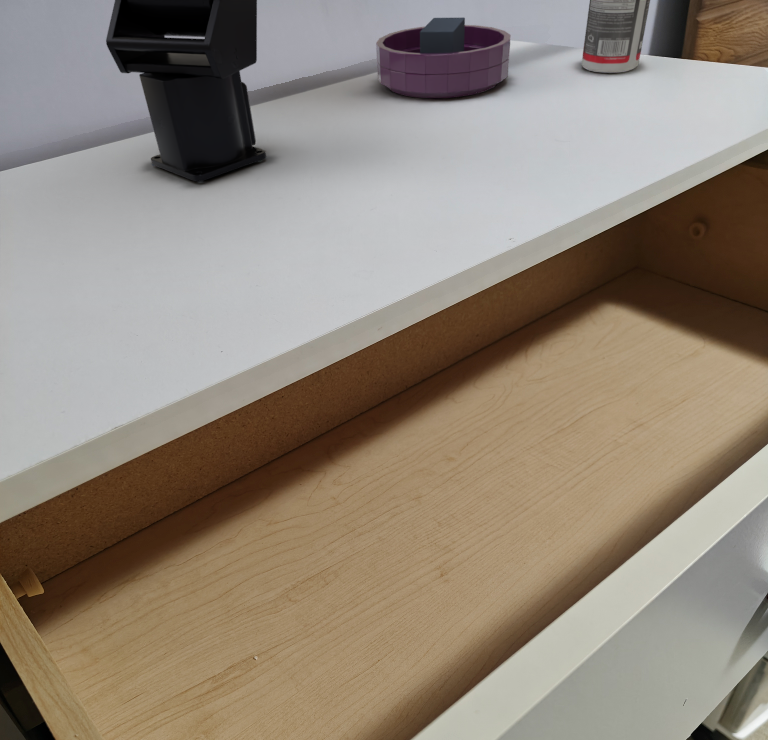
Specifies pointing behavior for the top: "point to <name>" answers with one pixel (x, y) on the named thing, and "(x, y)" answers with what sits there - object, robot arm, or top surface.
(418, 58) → the bowl
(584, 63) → the pill bottle
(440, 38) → the eraser
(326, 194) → the top surface
